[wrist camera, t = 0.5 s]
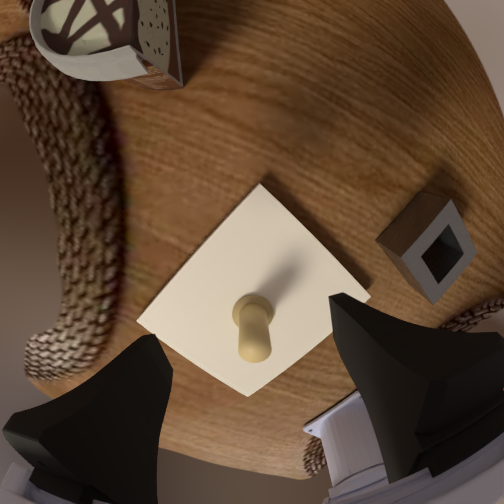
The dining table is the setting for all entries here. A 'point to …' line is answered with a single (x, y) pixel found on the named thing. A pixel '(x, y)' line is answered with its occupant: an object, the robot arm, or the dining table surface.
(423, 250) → the collar
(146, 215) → the dining table surface
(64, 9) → the food container
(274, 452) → the dining table surface
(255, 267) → the shaft board
